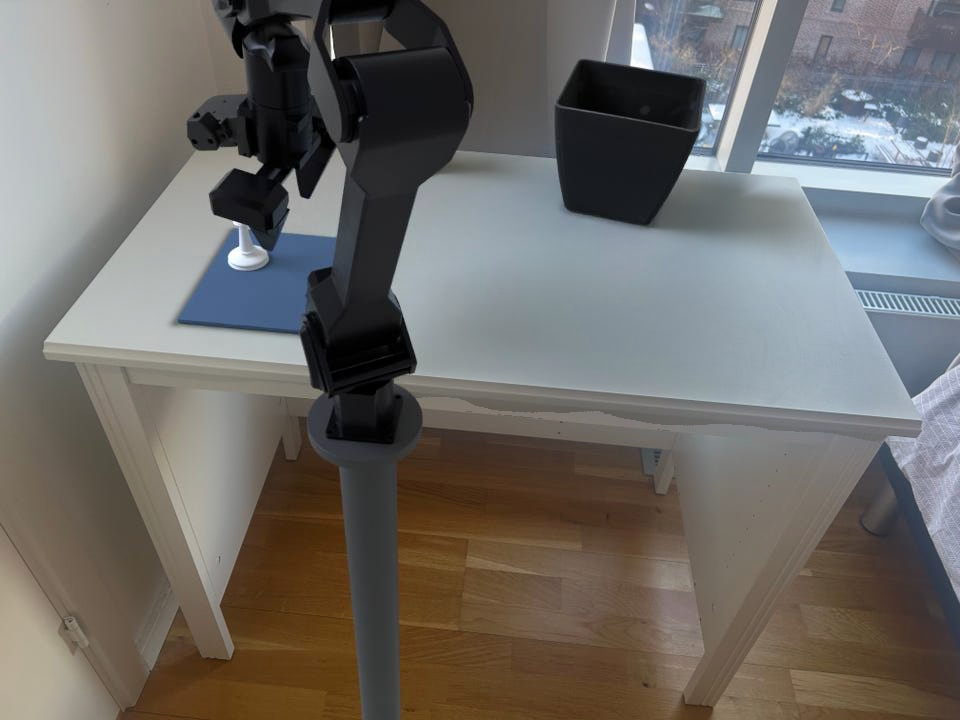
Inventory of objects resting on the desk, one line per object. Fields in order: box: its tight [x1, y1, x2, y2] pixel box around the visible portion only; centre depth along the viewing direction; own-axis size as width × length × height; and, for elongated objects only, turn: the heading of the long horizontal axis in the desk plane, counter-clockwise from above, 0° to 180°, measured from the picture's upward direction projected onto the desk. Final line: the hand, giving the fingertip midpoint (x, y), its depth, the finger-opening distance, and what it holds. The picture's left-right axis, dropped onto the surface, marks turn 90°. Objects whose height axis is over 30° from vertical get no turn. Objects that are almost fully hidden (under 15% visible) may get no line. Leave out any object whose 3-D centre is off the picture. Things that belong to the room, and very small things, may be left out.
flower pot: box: [554, 58, 708, 226], centre depth 107 cm, size 19×19×17 cm
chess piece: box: [228, 221, 269, 271], centre depth 90 cm, size 5×5×10 cm
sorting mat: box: [177, 227, 337, 334], centre depth 91 cm, size 20×16×1 cm
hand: (287, 222), depth 79 cm, fingers open, 9 cm apart
